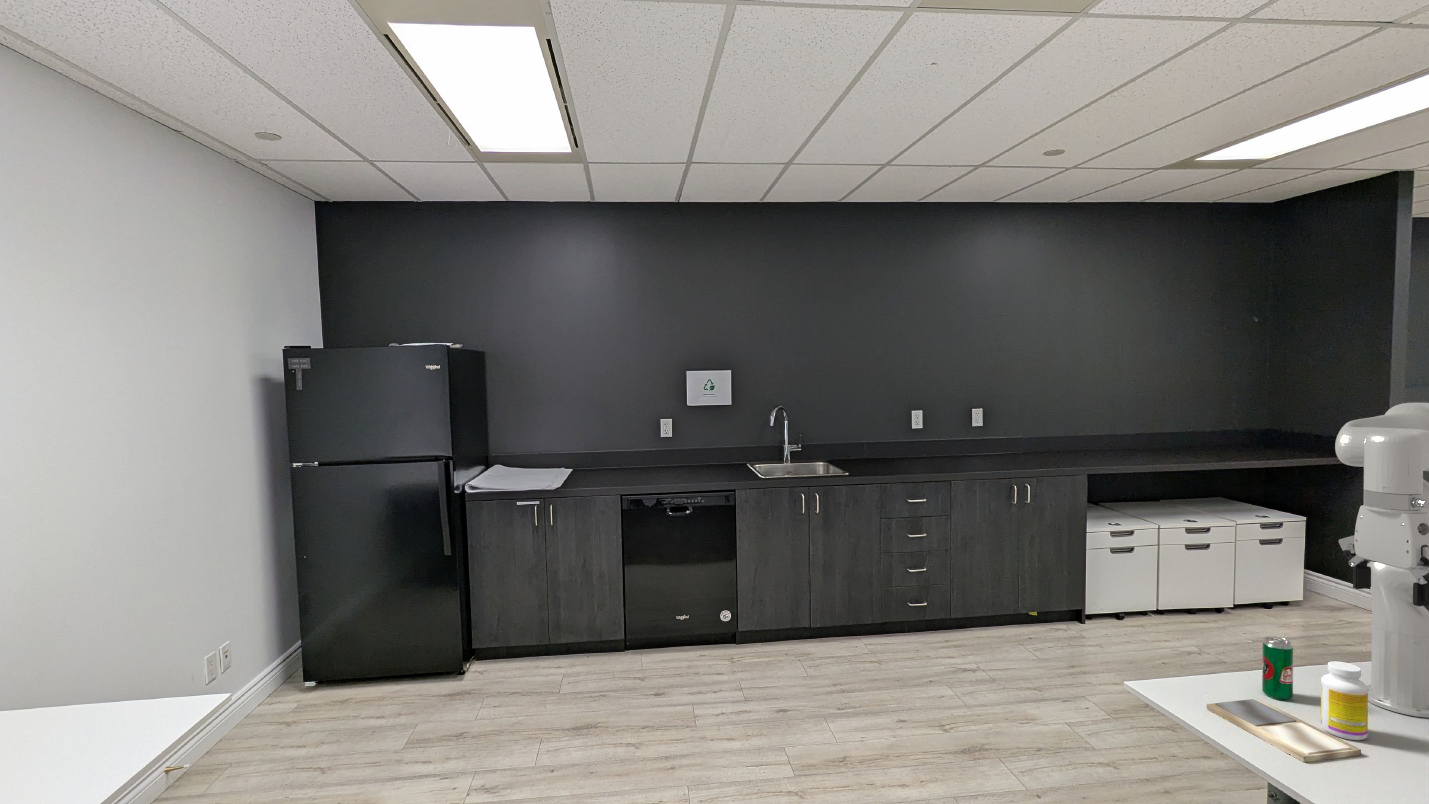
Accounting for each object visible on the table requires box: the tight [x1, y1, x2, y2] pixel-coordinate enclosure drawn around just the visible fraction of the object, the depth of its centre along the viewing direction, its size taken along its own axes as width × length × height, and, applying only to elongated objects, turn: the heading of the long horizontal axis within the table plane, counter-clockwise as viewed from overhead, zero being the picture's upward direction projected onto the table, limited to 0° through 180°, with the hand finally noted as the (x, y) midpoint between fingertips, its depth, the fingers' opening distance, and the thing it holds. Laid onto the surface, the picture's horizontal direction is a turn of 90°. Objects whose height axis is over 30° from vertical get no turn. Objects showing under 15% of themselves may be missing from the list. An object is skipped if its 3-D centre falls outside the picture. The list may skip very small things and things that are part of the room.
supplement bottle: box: [1320, 660, 1369, 741], centre depth 132 cm, size 7×7×13 cm
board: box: [1206, 698, 1362, 763], centre depth 133 cm, size 12×20×1 cm, turn 9°
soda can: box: [1261, 636, 1294, 701], centre depth 147 cm, size 5×5×12 cm
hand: (1391, 596), depth 124 cm, fingers open, 9 cm apart
